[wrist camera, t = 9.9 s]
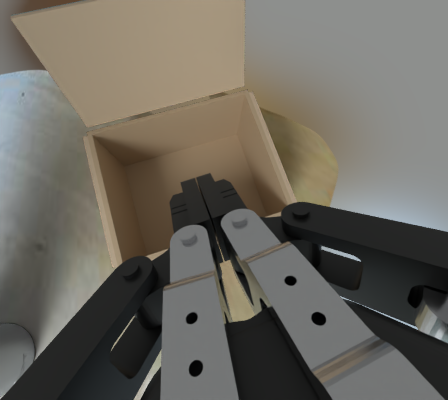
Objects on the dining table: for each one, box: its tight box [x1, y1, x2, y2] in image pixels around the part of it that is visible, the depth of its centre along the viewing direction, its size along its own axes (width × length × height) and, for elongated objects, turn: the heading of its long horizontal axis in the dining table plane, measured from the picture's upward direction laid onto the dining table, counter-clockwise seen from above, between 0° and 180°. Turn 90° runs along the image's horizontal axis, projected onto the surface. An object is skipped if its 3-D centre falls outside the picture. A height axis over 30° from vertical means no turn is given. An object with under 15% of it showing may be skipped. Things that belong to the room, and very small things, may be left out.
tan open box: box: [83, 90, 297, 268], centre depth 36 cm, size 19×23×12 cm
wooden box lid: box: [11, 0, 245, 128], centre depth 27 cm, size 12×21×1 cm
